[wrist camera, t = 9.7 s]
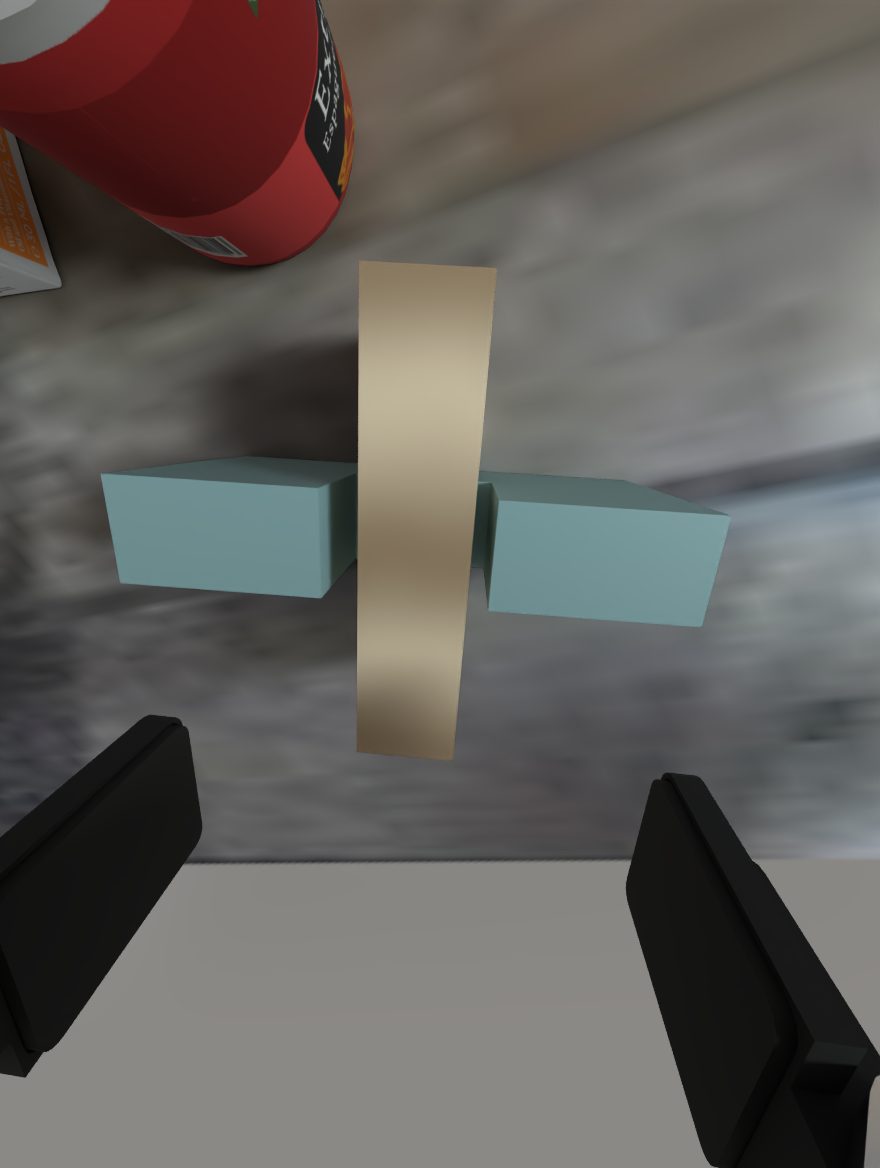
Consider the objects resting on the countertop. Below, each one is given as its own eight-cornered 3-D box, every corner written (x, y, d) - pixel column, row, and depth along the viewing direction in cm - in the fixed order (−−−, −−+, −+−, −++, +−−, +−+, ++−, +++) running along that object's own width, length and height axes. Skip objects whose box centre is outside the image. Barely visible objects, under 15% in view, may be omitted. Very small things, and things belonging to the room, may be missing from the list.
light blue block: (625, 480, 19) (731, 516, 11) (612, 551, 20) (701, 627, 12) (244, 455, 19) (100, 473, 12) (249, 525, 20) (120, 582, 13)
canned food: (398, 203, 16) (273, -202, 6) (216, 315, 18) (-142, 155, 7) (287, -66, 14) (-223, -1461, 4) (92, 87, 16) (-662, -596, 5)
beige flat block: (406, 333, 17) (359, 260, 10) (484, 337, 17) (497, 268, 10) (395, 639, 22) (356, 751, 14) (458, 644, 22) (452, 760, 14)
